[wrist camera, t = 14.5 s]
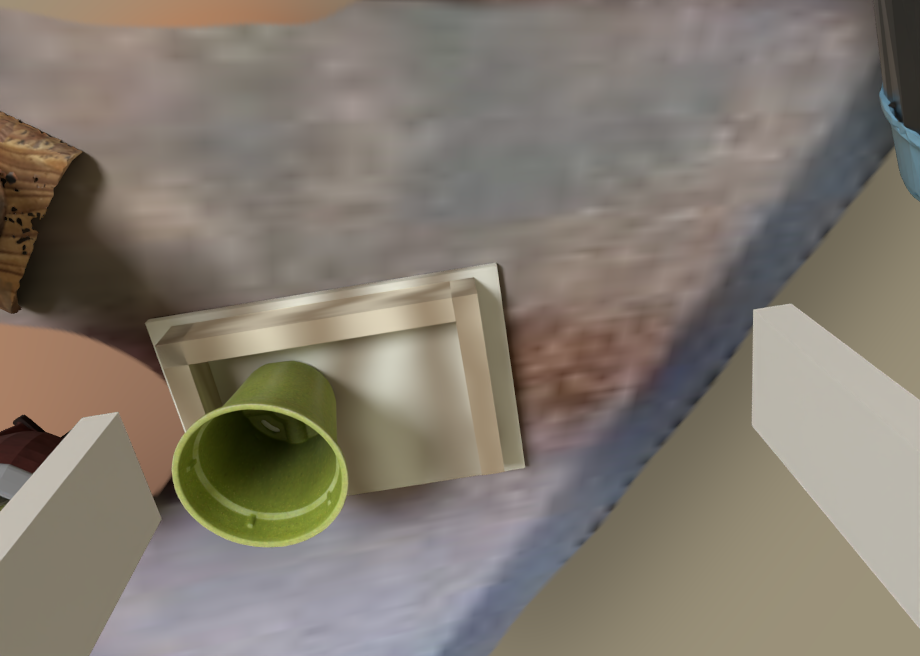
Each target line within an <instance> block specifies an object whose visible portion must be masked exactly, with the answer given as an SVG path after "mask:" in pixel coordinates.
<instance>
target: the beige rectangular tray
mask: <svg viewBox="0 0 920 656" xmlns="http://www.w3.org/2000/svg"><path fill="white" fill-rule="evenodd" d="M145 324H146V327H147V330H148V333H149V335H150V338H151V341H152V344H153V346H154V349H155V352H156V355H157V357H158V360H159V363H160V365H161V368H162V371H163V374H164V376H165V379H166V382H167V385H168V387H169V390H170V393H171V395H172V398H173V401H174V404H175V407H176V409H177V412H178V414H179V417H180V420H181V423H182V426H183V428H184V431H185V432H186V431H187V430H188V429H189V428H190V427H191V426H192V424H194V423H195V422H196V421H197V420H198V419H200V418H201V417H202V416H204V415H205V414H207V413H209V412H211V411H213V410H215V409H218V408H220V407H222V406H223V405H224V404H225V403H226V402H227V401H228V400H229V399H230V398H231V397H232V395H233V394H234V393H235V392H236V391H237V390H238V389H239V388H240V386H241V385H242V384H243V383H244V382H245V380H246V379H247V378H248V377H249V376H250V375H251V374H252V373H253V372H254V371H255V370H257V369H258V368H259V367H261V366H263V365H265V364H268V363H276V362H284V361H296V362H301V363H304V364H306V365H309V366H311V367H313V368H314V369H316V370H317V371H319V372H320V373H321V374H322V375H323V376H324V377H325V378H326V379H327V380H328V382H329V383H330V385H331V387H332V389H333V392H334V395H335V399H336V421H337V443H338V445H339V447H340V448H341V450H342V453H343V455H344V457H345V460H346V464H347V468H348V477H349V481H348V492H347V496H350V495H356V494H363V493H369V492H375V491H382V490H388V489H394V488H401V487H407V486H413V485H420V484H426V483H432V482H439V481H445V480H451V479H457V478H464V477H470V476H476V475H488V474H494V473H500V472H505V471H508V470H514V469H521V468H525V463H524V456H523V448H522V441H521V434H520V427H519V420H518V413H517V406H516V399H515V391H514V384H513V377H512V370H511V363H510V356H509V349H508V342H507V334H506V327H505V320H504V313H503V306H502V299H501V292H500V285H499V277H498V270H497V265H496V263H490V264H484V265H478V266H472V267H466V268H460V269H454V270H448V271H441V272H435V273H429V274H423V275H417V276H411V277H405V278H399V279H392V280H386V281H380V282H374V283H368V284H362V285H356V286H350V287H343V288H337V289H331V290H325V291H319V292H313V293H307V294H301V295H294V296H288V297H282V298H276V299H270V300H264V301H258V302H252V303H245V304H239V305H233V306H227V307H221V308H215V309H209V310H202V311H196V312H190V313H184V314H178V315H172V316H166V317H160V318H153V319H148V320H147V321H146V322H145ZM261 422H262V424H263V425H264V426H265V427H267V428H268V429H269V430H272V431H274V432H279V431H280V430H279V429H278V428H276V427H274V426H272V425H271V424H269V423H268V422H266V421H265V420H262V421H261Z"/></svg>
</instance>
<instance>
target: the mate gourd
mask: <svg viewBox="0 0 920 656" xmlns="http://www.w3.org/2000/svg"><path fill="white" fill-rule="evenodd" d="M13 424H14V425H15V426H13V427H10V428H8V429H5V430H3V431H1V432H0V511H1V510H2V509H3V508H4V507H5V506H6V504H7V503H8V502H9V501H10V500H11V499H12V498H13V496H14V495H15V494H16V493H17V492H18V491H19V489H20V488H21V487H22V486H23V485H24V484H25V483H26V481H27V480H28V479H29V478H30V477H31V476H32V475H33V473H34V472H35V471H36V470H37V469H38V468H39V467H40V465H41V464H42V463H43V462H44V461H45V460H46V459H47V457H48V456H49V455H50V454H51V453H52V452H53V451H54V449H55V448H56V447H57V446H58V445H59V444H60V442H61V441H62V440H63V439H64V438H65V437H66V436H67V434H68V433H69V432H70V431H71V430H70V431H69V432H68V433H66V434H65V435H64V436H62V437H58V436H55V435H53V434H50V433H46V432H45V431H44V430H43V429H42V428H40V427H39V426H38V425H37V424H36V423H34V422H33V421H32V420H31V419H29V418H28V417H27V416H26V415H22V416H20V417H18V418H17V419H16V420H14V421H13Z"/></svg>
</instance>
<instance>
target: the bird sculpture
mask: <svg viewBox="0 0 920 656" xmlns="http://www.w3.org/2000/svg"><path fill="white" fill-rule="evenodd" d="M18 120H19V119H18ZM18 120H17V119H15V118H14V117H11V116H10V115H9V116H6V114H5V113H3V112H0V309H2V310H5V311H6V312H9V313H11V314H14V313H17V312H18V310H21V306H19V305H18V299H17V289H19V287H20V284H19V280H20V279H21V278H22V277H23V274H24V272H25V267H26V266H27V263H28V261H29V260H28V259H29V258H30V254H31V253H32V251H33V243H34V242H35V240H37V234H38V233H39V232H37V231H35V230H32V228H31V227H32V223H31V219H32V218H34V217H37V215H36V213H40V215H41V216H40V220H41V217H43V216H42V215H43V214H44V215H45V212H46V210H47V209H46V207H48V206H49V203H50V201H51V199H52V197H53V195H54V193H53V192H54V187H56V186H57V185H58V183H59V181H60V180H61V178H62V176H63V175H64V173H65V171H66V170H67V168H68V166H69V165H70V163H71V161H72V160H73V159H75V158H76V157H77V156H79V155H80V154H81V153H82V152H83V151H81V150H77V149H76V148H74V147H70V146H68V145H67V143H60V141H62V140H59V139H58V138H54V137H52V138H51V137H49V136H48V135H47V134H46V133H43V134H41V132H40V130H39V129H36V128H33V127H31V126H29V125H27V124H25V123H20V122H19V121H18ZM36 177H37V178H38V181H36V182H35V180H36ZM1 178H5V179H6V180H7V183H6V184H5V188H3V186H2V182H1ZM44 185H45V187H44ZM14 188H15V189H18V190H19V191H18V192H16V191H14ZM13 206H14V207H15V208H16V209H17V211H15V212H13V211H11V208H12V207H13ZM21 212H22V213H24V214H23V215H22V214H21ZM13 213H16V215H14V214H13ZM28 213H33V215H35V216H34V217H32V216H28ZM5 217H7V221H5V219H4V218H5ZM9 218H12V219H13V221H14V222H15V223H12V221H11V222H10V221H9ZM17 218H21V220H22V224H23V226H20V224H18V223H17V222H16V219H17ZM22 228H23V229H24V230H25V228H29V229H30V232H26V233H25V234H23V233H22ZM12 235H14V236H15V239H14V238H13V236H12ZM26 236H29V237H30V240H26V241H24V242H22V243H21V244H16V241H17V240H19V239H20V238H21V237H23V238H26ZM31 238H33V239H34V240H32V239H31ZM23 245H26V249H25V250H22V247H23ZM22 251H26V252H27V254H26V255H24V254H22Z"/></svg>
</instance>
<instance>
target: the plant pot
mask: <svg viewBox="0 0 920 656" xmlns="http://www.w3.org/2000/svg"><path fill="white" fill-rule="evenodd" d="M262 420H265V421H266V422H268V423H269V424H271V425H272V426H274V427H276V428H278V429H279V430H280V431H279V432H274V431H272V430H269V429H268V428H267V427H265V426H264V425H263V424H262V422H261V421H262ZM172 476H173V483H174V487H175V490H176V493H177V495H178V497H179V499H180V501H181V503H182V504H183V506H184V507H185V509H186V510H187V511H188V512H189V514H190V515H191V516H192V517H193V518H194V519H195V520H196V521H198V522H199V523H200V524H201V525H202V526H204V527H205V528H207V529H208V530H210V531H212V532H213V533H215V534H217V535H219V536H221V537H223V538H225V539H227V540H230V541H232V542H236V543H239V544H243V545H250V546H255V547H282V546H288V545H293V544H297V543H300V542H303V541H305V540H307V539H309V538H312V537H314V536H315V535H317V534H319V533H320V532H322V531H323V530H324V529H326V528H327V527H328V526H329V525H330V524H331V523H332V522H333V521H334V520H335V518H336V517H337V516H338V514H339V513H340V511H341V509H342V508H343V505H344V503H345V500H346V497H347V492H348V481H349V477H348V468H347V464H346V460H345V457H344V455H343V453H342V450H341V448H340V447H339V445H338V443H337V421H336V399H335V395H334V392H333V389H332V387H331V385H330V383H329V382H328V380H327V379H326V378H325V377H324V376H323V375H322V374H321V373H320V372H319V371H317V370H316V369H314V368H313V367H311V366H309V365H306V364H304V363H301V362H296V361H284V362H276V363H268V364H265V365H263V366H261V367H259V368H258V369H257V370H255V371H254V372H253V373H252V374H251V375H250V376H249V377H248V378H247V379H246V380H245V382H244V383H243V384H242V385H241V386H240V388H239V389H238V390H237V391H236V392H235V393H234V394H233V395H232V397H231V398H230V399H229V400H228V401H227V402H226V403H225V404H224V405H223V406H222V407H220V408H218V409H215V410H213V411H211V412H209V413H207V414H205V415H204V416H202V417H201V418H200V419H198V420H197V421H196V422H195V423H194V424H192V426H191V427H190V428H189V429H188V430H187V431H186V432H185V434H184V435H183V436H182V438H181V439H180V441H179V443H178V445H177V447H176V450H175V453H174V456H173V462H172Z"/></svg>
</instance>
